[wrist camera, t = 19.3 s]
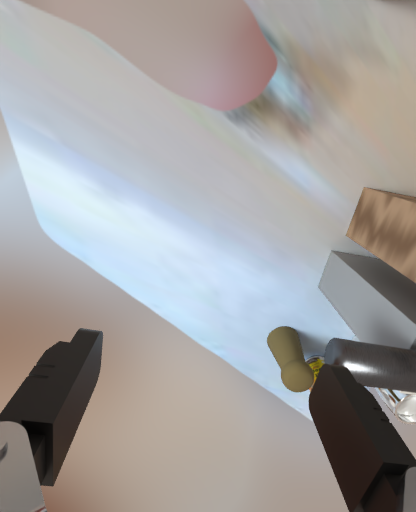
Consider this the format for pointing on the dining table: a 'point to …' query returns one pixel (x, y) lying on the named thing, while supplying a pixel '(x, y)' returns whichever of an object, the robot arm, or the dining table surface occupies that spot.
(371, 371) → the black gold-banded rod
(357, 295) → the grey magazine holder
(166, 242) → the dining table surface
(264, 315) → the dining table surface
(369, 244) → the tall stand
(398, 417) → the beer glass
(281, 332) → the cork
